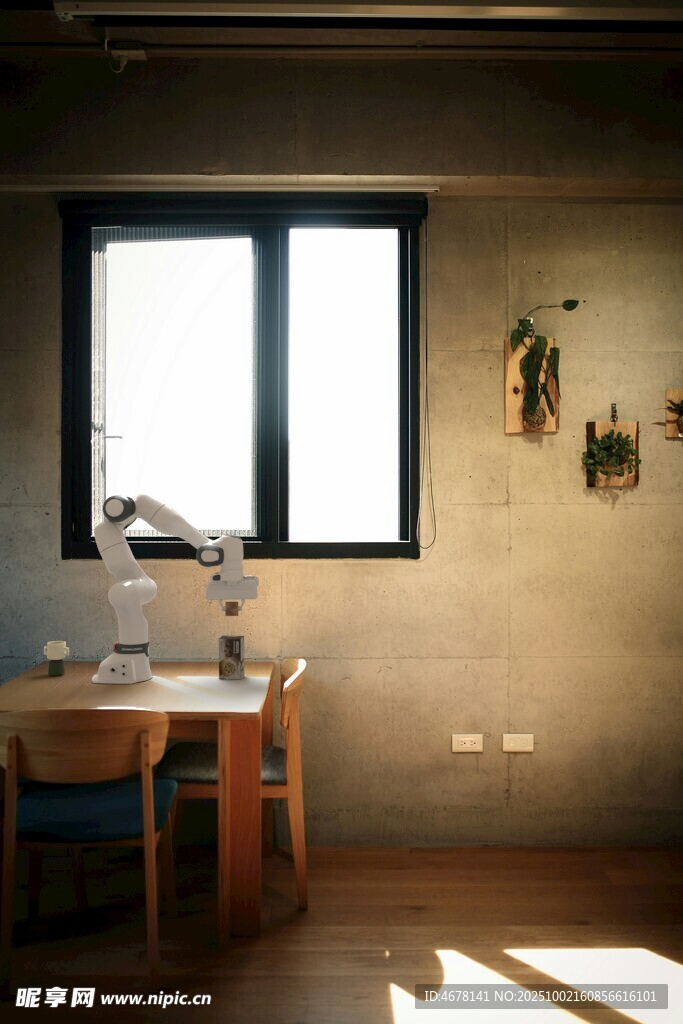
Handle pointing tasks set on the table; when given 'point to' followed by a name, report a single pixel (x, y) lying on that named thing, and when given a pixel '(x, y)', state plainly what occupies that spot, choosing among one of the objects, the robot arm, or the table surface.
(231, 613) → the walnut cube
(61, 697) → the table surface
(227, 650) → the coffee box
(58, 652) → the trophy cup
